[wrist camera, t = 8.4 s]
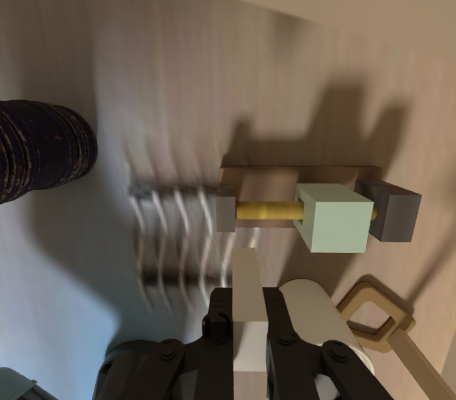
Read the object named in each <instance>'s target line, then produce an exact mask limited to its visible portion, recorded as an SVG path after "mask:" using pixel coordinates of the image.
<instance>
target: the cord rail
mask: <svg viewBox="0 0 456 400" xmlns="http://www.w3.org/2000/svg"><path fill="white" fill-rule="evenodd" d="M381 172H382V168H380V167H377V166H259V167H220V186H219V189H218V192H217V195H216V215H217V232H235V227H273V228H296V226H295V225H294V223H293V220H303V212H304V202H295V194H296V183H325V184H341V185H343V186H344V187H346V188H348V189H349V190H351V191H353V192H356V193H358V194H360V195H361V196H363V197H365V198H367V199H369V200H371V201H373V202H374V204H373V210H372V215H371V221H370V227H369V233H370V234H372V235H373V236H374V237H375V238H377V239H378V240H379V241H380V242H411V239H412V235H413V231H414V227H415V222H416V218H417V214H418V210H419V205H420V201H421V197H422V195H420V194H417V193H415V192H412V191H409V190H406V189H404V188H401V187H398V186H395V185H392V184H390V183H387V182H384V181H381V180H380V178H381Z"/></svg>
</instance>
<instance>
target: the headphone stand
mask: <svg viewBox="0 0 456 400" xmlns="http://www.w3.org/2000/svg"><path fill="white" fill-rule="evenodd" d="M366 301H371V302H373V303H374V304H375V305H377V306H378V307H379V308H381V309H382V310H383V311H385V312H386V313H387V314H389V315H390V316H391V319H390V320H389V321H388V322H387V323H386V324H385V325H384V326H383V327H382V328H381V329H380V330H379V332H378V333H377V334H375V335H370V334H367V333H363V332H360V331H357V330H354V329H350V330H351V331H352V333H353V334H354V336H355V337H356V339H357V340H358V342H359V344H360V345H361V347H365V348H368V349H371V350H374V351H378V352H381V353H387V352H389V351H391V350H392V349H393V350H394V352H395V353H396V354H397V356H398V357H399V358H400V360H401V361H402V362H403V364H404V365H405V367H406V368H407V369H408V371H409V372H410V373H411V375H412V376H413V377H414V379H415V380H416V381H417V383H418V384H419V386H420V387H421V388H422V390H423V391H424V392H425V394H426V395H427V396H428V398H429V399H430V400H456V395H455V394H454V393H453V391H452V390H451V389H450V387H449V386H448V385H447V384H446V382H445V381H444V380H443V379H442V377H441V376H440V375H439V374H438V372H437V371H436V370H435V369H434V367H433V366H432V365H431V363H430V362H429V361H428V360H427V358H426V357H425V356H424V355H423V353H422V352H421V351H420V350H419V348H418V347H417V346H416V345H415V343H414V342H413V341H412V340H411V338H410V337H409V336H408V334H407V333H408V332H409V331H410V330H411V329H412V328H413V327H414V326H415V324H416V322H415V319H414V318H413V317H412V316H411V315H410V314H409V313H408V312H406V311H405V310H404V309H402V308H401V307H400V306H398V305H397V304H396V303H395V302H393V301H392V300H391V299H389V298H388V297H387V296H385V295H384V294H383V293H381V292H380V291H379V290H378V289H376V288H375V287H374V286H372V285H371V284H370V283H367V282H361V283H359V284H357V285H356V286H355V287H354V289H353V290H352V291H351V292H350V293H349V295H348V296H347V297H346V298H345V299H344V301H343V302H342V303H341V304H340V305H339V307H338V308H337V310H338V311H339V313H340V314H341V316H342V317H343V319H344V320H345V322H347V321H348V320H349V319H350V318H351V316H352V315H353V314H354V313H355V312H356V311H357V309H358V308H359V307H360V306H361V305H362V304H363V303H364V302H366Z"/></svg>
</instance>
